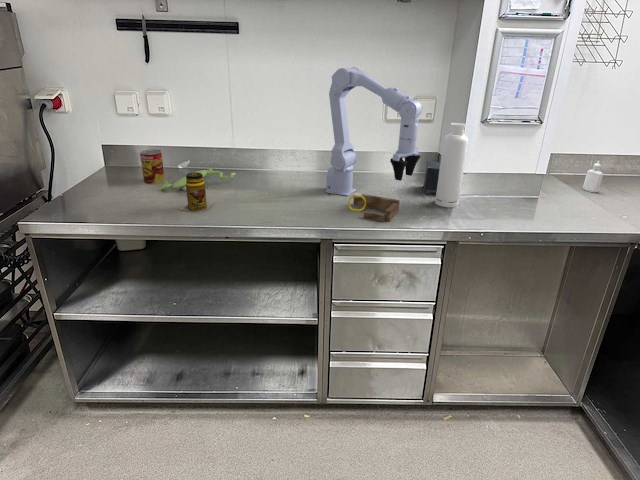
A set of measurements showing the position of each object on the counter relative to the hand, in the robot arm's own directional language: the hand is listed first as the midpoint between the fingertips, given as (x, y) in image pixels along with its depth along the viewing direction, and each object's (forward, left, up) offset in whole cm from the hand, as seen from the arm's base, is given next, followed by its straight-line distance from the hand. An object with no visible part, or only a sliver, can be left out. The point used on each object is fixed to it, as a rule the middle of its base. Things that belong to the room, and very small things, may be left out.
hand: (403, 177), depth 152 cm
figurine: (-75, -17, -11) cm, 78 cm away
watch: (-12, -13, -10) cm, 20 cm away
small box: (+6, +21, -10) cm, 24 cm away
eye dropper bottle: (+62, +52, -10) cm, 82 cm away
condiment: (-61, -37, -10) cm, 72 cm away
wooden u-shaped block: (-7, -13, -10) cm, 18 cm away
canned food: (-95, -21, -10) cm, 98 cm away
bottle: (+14, +9, -10) cm, 20 cm away
